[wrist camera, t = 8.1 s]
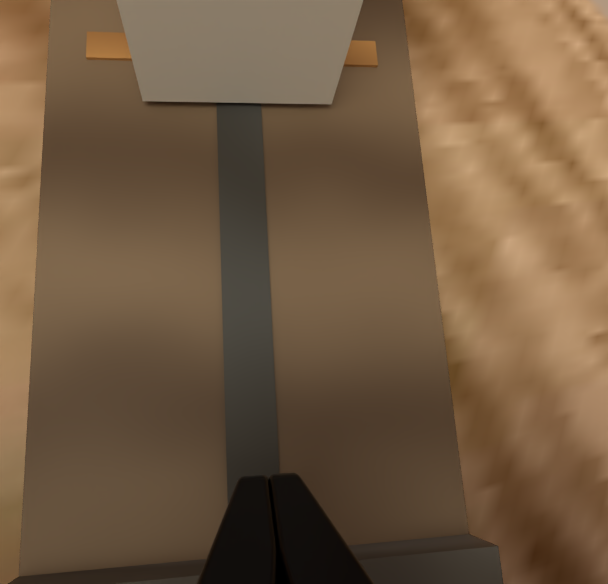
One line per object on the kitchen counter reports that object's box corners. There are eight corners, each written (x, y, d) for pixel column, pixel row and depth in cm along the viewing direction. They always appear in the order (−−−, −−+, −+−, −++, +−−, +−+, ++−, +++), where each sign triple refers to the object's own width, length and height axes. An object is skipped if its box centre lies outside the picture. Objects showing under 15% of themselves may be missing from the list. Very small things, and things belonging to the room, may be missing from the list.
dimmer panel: (442, 561, 15) (505, 598, 12) (46, 601, 13) (-15, 656, 10) (373, -55, 20) (402, -155, 16) (75, -72, 18) (41, -186, 15)
